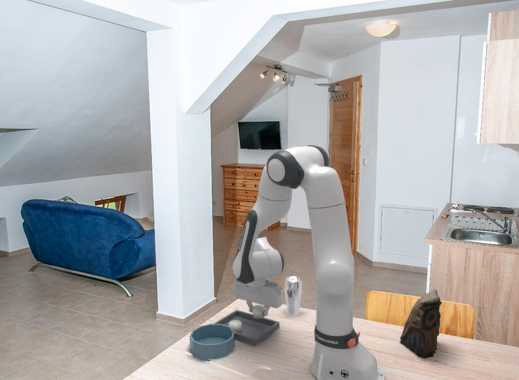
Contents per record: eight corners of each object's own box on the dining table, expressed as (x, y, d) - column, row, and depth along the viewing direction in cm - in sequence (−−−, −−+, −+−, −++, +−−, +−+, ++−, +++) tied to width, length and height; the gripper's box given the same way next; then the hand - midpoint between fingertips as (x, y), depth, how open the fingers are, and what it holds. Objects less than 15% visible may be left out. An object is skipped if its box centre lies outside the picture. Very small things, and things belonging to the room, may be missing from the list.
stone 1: (244, 330, 157) (244, 322, 157) (236, 335, 153) (236, 326, 153) (234, 327, 160) (234, 318, 159) (226, 332, 156) (226, 323, 155)
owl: (433, 339, 151) (436, 286, 148) (451, 359, 139) (455, 300, 136) (398, 341, 150) (400, 287, 147) (414, 361, 138) (417, 302, 135)
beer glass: (304, 313, 173) (304, 277, 171) (296, 319, 167) (297, 283, 165) (289, 309, 177) (289, 274, 175) (281, 315, 171) (281, 280, 169)
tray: (279, 329, 159) (279, 321, 159) (255, 348, 146) (255, 339, 146) (236, 316, 170) (236, 309, 170) (210, 332, 157) (210, 325, 157)
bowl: (242, 345, 148) (242, 330, 147) (215, 365, 136) (215, 349, 135) (210, 334, 156) (209, 320, 155) (181, 352, 144) (181, 337, 143)
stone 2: (267, 315, 160) (267, 306, 160) (260, 319, 157) (259, 310, 156) (257, 312, 163) (257, 303, 163) (250, 316, 159) (249, 308, 159)
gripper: (285, 280, 154) (286, 316, 156) (241, 271, 166) (242, 304, 168) (276, 286, 149) (277, 323, 151) (231, 276, 161) (232, 310, 163)
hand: (258, 313), depth 160 cm, fingers closed on stone 2, 5 cm apart
